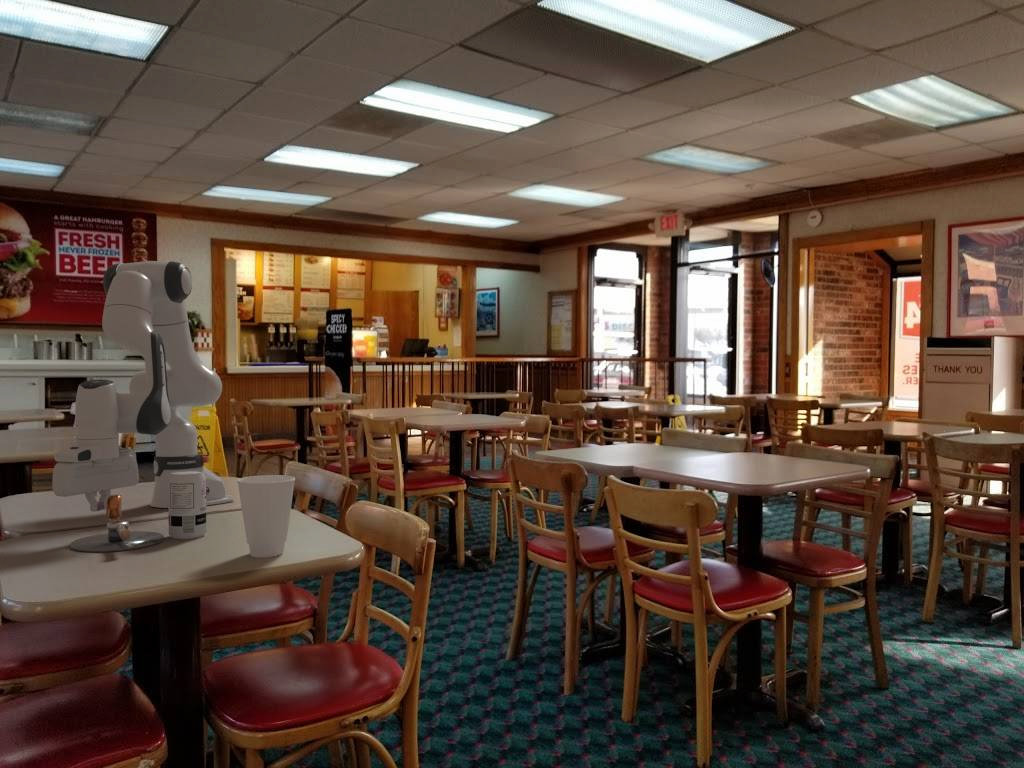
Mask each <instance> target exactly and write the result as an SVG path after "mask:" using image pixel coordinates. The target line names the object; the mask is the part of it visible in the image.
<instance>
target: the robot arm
mask: <svg viewBox="0 0 1024 768" xmlns="http://www.w3.org/2000/svg"><path fill="white" fill-rule="evenodd" d="M102 285H103V290H104V292H105V294H106V298H105V302H104V307H103V312H102V313H103V314H102V321H101V323H102V324H101V326H102V330H103V333H104V336H105V337H106V338H107V339H108V340H109V341H110V342H112V343H113V344H114V345H115V346H118V347H120V348H121V349H124V350H126V351H129V352H132V353H134V354H137V355H140V356H141V357H142V358H143V359H144V364H145V365H144V366H145V367H144V368H145V369H143V370H139V371H137V372H135V373H134V375H133V376H132V377H131V378H130V380H129V387H128V388H129V392H128V393H122V392H117V388H116V384H115V382H114V381H113V380H109V379H92V380H90V379H89V380H86V381H83V382H81V383H79V385H78V387H77V391H76V396H75V411H74V412H75V414H74V416H75V420H74V421H75V423H76V427H77V428H76V435H75V443H73V444H70V445H69V446H67V447H66V446H65V447H64V448H62V449H59V450H58V451H56V452H54V461H55V462H57V463H55V465H54V466H53V470H52V480H51V481H52V492H53V493H54V495H55V496H56V497H64V498H65V497H73V496H78V495H84V494H85V495H84V496H85V498H86V500H87V502H88V504H89V510H90V511H91V512H99V511H106V502H107V500H108V498H109V496H110V495H112V494H111V493H112V491H111V490H115V489H120V488H121V489H123V488H128V487H134V486H136V485H137V484H138V482H139V481H140V475H139V474H140V473H139V467H138V462H137V453H136V451H135V450H134V449H133V448H131V447H130V446H127V447H120V446H119V444H120V443H119V442H120V441H119V439H120V438H119V437H120V436H119V434H140V435H152V436H154V441H155V456H154V459H153V474H154V486H153V493H152V497H151V501H150V504H149V506H150V507H152V508H153V507H154V508H158V509H159V508H160V509H162V508H163V509H168V479H169V478H170V476H171V473H172V472H177V471H203V474H204V475H205V477H206V506H210V505H211V506H212V505H219V504H225V503H232V502H234V501H235V498H234V496H233V495H231V494H227V491H226V485H225V482H224V479H222V478H221V477H220V476H218V475H217V474H216V473H214V472H213V471H211V470H210V469H208V468H207V467H206V466H205V464H208V463H210V461H211V458H210V456H209V455H201V454H199V453H198V430H197V427H196V426H195V424H194V423H193V422H191V421H190V420H187V419H185V418H184V417H183V416H182V415H181V413H180V411H179V407H180V408H181V407H183V408H184V407H186V408H187V407H191V408H194V407H195V408H198V407H205V406H208V405H209V406H210V405H213V404H215V403H216V402H217V401H218V400H219V398H220V397H221V395H222V393H223V382H222V380H221V377H220V376H219V375H218V373H217V372H216V371H214V370H212V369H211V368H210V367H208V366H207V365H206V364H205V363H204V362H203V361H202V360H201V358H200V357H199V356H198V354H197V352H196V350H195V348H194V344H193V340H192V336H191V332H190V331H191V330H190V325H189V318H188V316H189V315H188V312H187V307H186V303H185V300H186V299H187V298H188V297H189V295H191V293H192V288H193V278H192V275H191V271H190V270H189V268H188V267H187V266H186V265H185V264H184V263H182V262H177V261H159V260H145V261H135V262H126V263H124V262H119V263H115V264H111V265H110V266H109V267H108V268H106V270H105V271H104V273H103V277H102ZM167 365H168V366H169V368H167ZM98 495H100V496H99V500H97V499H96V497H98Z"/></svg>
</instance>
